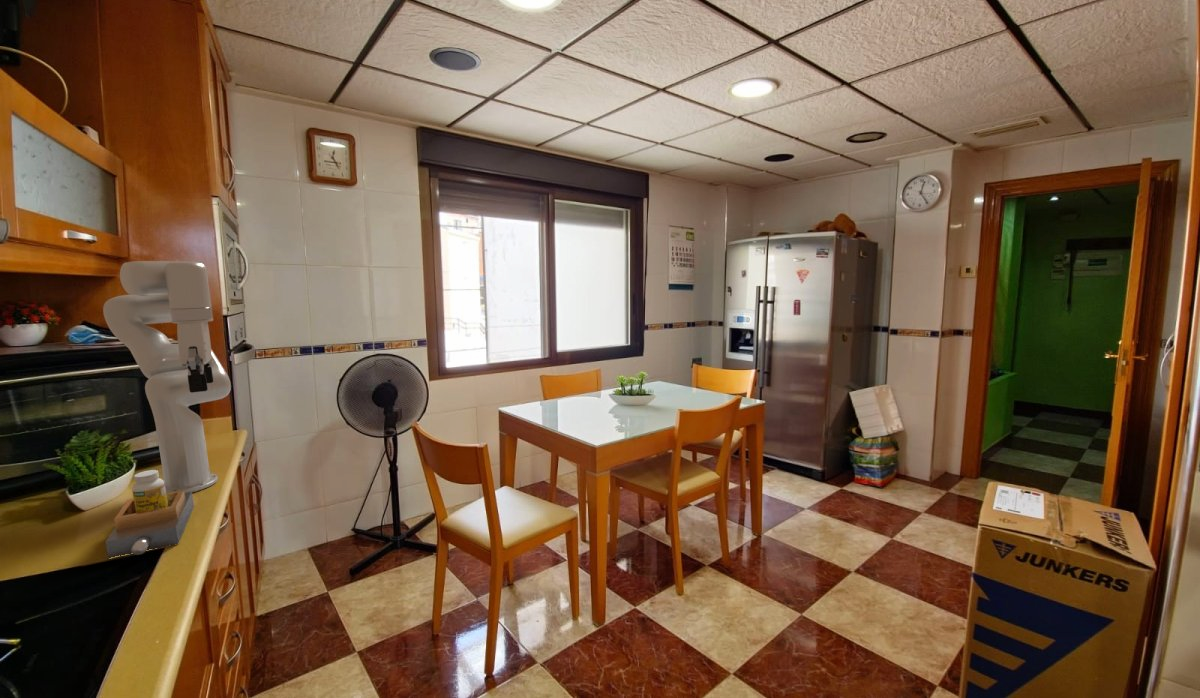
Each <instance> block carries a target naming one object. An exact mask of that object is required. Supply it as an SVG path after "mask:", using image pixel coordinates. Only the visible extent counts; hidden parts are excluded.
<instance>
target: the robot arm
mask: <svg viewBox="0 0 1200 698" xmlns="http://www.w3.org/2000/svg"><path fill="white" fill-rule="evenodd" d="M119 279H120V284H121V286H122V288H123V289H124V291H125V292H126V293H127V294H123V295H118V296H115V297H112V298H110V299H107V300H106V301H105V303H104V304H103V307H102V308H103V311H102V313H103V317H104V320H105V323H106V324H107V327H108V328H109V330H110V331H111V333H112V334H113V336H115V337H116V338H117V339H118V340H119V341H120V342H121V343H122V344H123V345H125V346H126V348H128V350H129V351H130V353H131V355H132V356H133V358H134V360H135V363H136V364H137V365H138V367H139V369H140V371H141V372H142V375H144V376H145V377H146V378H147V380H146V381H145V386H144V390H145V395H146V399H147V400H148V402H149V403H148V404H149V406H150V409H151V412H152V415H153V419H154V423H155V429H156V431H155V432H156V436H157V443H158V448H159V449H158V450H159V453H160V454H159V455H160V461H161V469H162V471H161V472H160V476H161V477H163V481H164V484H165V489H166V493H171V492H176V491H182V490H184V493H186V492H192V493H195V492H198V491H201V490H204V489H207V488H209V487H211V486H212V485H214V484H215V483H216V482H218V481H219V479H218V477H219V476H218V474H216V473H215V472H210V466H209V465H210V464H209V459H208V458H209V457H208V451H207V450H208V449H207V444H206V436H205V429H204V423H203V419H202V418H201V416H200V415H199V414H198V413H196V412H194V411H193V410H191V409H190V408H189V407H190V406H193V405H197V404H203V403H207V402H213V401H217V400H222V399H224V398H226V397H227V396H228V395H229V394H230V392H231V390H232V389H231V388H232V385H231V383H232V382H231V380H230V377H229V375H228V373H227V371H226V370H225V368H224V367H223V365H222V363H221V361H220V360H219V359H218V357H217V355H216V354H215V353H214V350H213V349H212V345H211V337H210V336H211V335H210V329H209V328H210V327H209V323H208V322H213V321H214V316H213V308H212V301H211V300H212V299H211V292H210V284H209V278H208V270H207V267H206V266H205V264H203V263H202V262H198V261H186V260H185V261H184V260H182V261H181V260H174V261H172V260H136V261H134V260H133V261H128V262H124V263H122V265H121V267H120V272H119ZM164 323H172V324H177V326H176V328H177V329H176V330H177V333H176V334H177V343H171V342H170V340H169V338H168V336H166V335H165V334H164V333H163V332H161V331H160V330H158V329H157V328H154V327H151V326H149V325H153V324H164Z"/></svg>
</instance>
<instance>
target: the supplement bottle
mask: <svg viewBox="0 0 1200 698" xmlns="http://www.w3.org/2000/svg"><path fill="white" fill-rule="evenodd" d="M159 477H160V473H159V471H158V469H157V470H156V469H150V470H144V471H141V472H137V473H136V474H134V475H133V480H134V481H133V482H135V484H134V485H132V488H131V490H132V497H133V499H134V503H135V508H136V513H139V512H144V511H150V510H155V509H160V508H165V507H168V501H167V495H166V489H165V484H164V479H162V478H159Z"/></svg>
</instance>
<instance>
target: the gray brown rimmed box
mask: <svg viewBox="0 0 1200 698" xmlns="http://www.w3.org/2000/svg"><path fill="white" fill-rule="evenodd" d="M166 495H167V501H168V507H165V508H160V509H155V510H150V511H144V512H139V513H136V508H135V503H134V498H132V499H128V500H127V501H126V502H125V503H124V504H123V506H122V507H121V509H120V510H119V512H118V513H117V514H116V516H115V518H114V519H113V521H114V525H115V527H114V529H113V530H112V531H111V533H110V534H109V536H108V538H107V539H106V540H105V546H106V547H105V548H106V552H107V553H106V554H107V558H111V557H115V556H119V555H120V556H121V555H125V554H131V553H133V555H136V556H138V555H139V556H140V555H143V554H144V553H146V550H149V549H155V548H160V549H163V548H162V547H165V548H167V547H166V546H169V545H173V546H176V545H175V544H178V543H179V544H180V542H179V541H181V539H182V538H183V535H182V534H184V532H185V529H186V527H187V524H188V522H189V520H190V517H191V515H192V512H193V510H194V508H195V504H194V499H193V497H194V496H193V492H186V493H184V490H182V491H176V492H171V493H166ZM179 544H178V545H179ZM169 547H170V546H169Z"/></svg>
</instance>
